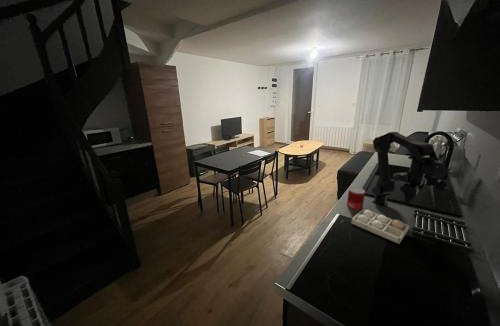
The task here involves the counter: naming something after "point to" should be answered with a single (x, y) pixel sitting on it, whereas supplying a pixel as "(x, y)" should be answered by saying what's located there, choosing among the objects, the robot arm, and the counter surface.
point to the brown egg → (397, 224)
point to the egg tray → (386, 231)
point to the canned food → (355, 198)
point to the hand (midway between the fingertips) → (409, 200)
